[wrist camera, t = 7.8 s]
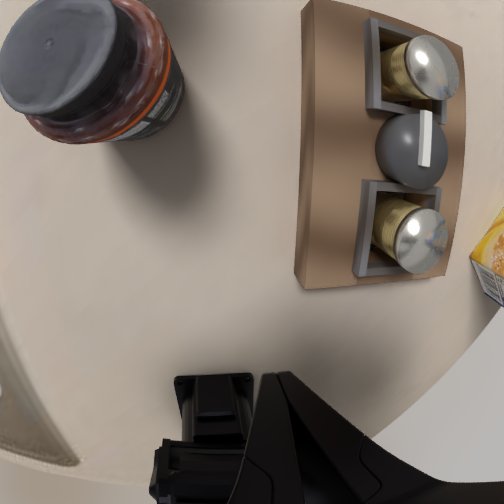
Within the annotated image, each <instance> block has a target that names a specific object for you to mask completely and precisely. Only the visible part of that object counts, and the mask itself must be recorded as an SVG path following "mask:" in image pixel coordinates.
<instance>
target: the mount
mask: <svg viewBox="0 0 504 504" xmlns="http://www.w3.org/2000/svg"><path fill="white" fill-rule="evenodd" d="M422 35H430V36H433V37H435V38H437V39H439V40H440V41H441V42H443V43H444V44H445V45H446V46H447V47H448V49H449V50H450V51H451V53H452V55H453V56H454V58H455V60H456V63H457V66H458V70H459V86H458V89H457V91H456V93H455V94H454V95H453V96H452V97H451V98H449V99H445V100H433V99H420V100H411V107H407V106H403V105H398V104H394V103H389V102H385V101H381V63H380V47H381V48H384V49H390V48H393V47H396V46H398V45H401V44H404V43H407V42H409V41H410V40H411V39H413V38H416V37H419V36H422ZM301 38H302V103H301V148H300V176H299V198H298V217H297V235H296V250H295V265H294V274H295V275H296V277H297V278H298V280H299V281H300V283H301V285H302V286H303V288H304V289H315V288H328V287H340V286H352V285H363V284H373V283H383V282H393V281H403V280H412V279H421V278H429V277H438V276H445V273H446V269H447V265H448V261H449V257H450V252H451V247H452V243H453V238H454V232H455V227H456V221H457V215H458V209H459V202H460V195H461V187H462V177H463V167H464V154H465V134H466V92H465V73H464V60H463V50H462V47H461V46H459V45H457V44H455V43H453V42H451V41H449V40H447V39H445V38H442V37H440V36H438V35H436V34H434V33H431V32H429V31H427V30H424V29H422V28H419V27H417V26H414V25H412V24H409V23H407V22H404V21H401V20H398V19H396V18H393V17H390V16H387V15H384V14H381V13H378V12H374V11H371V10H368V9H364V8H360V7H357V6H353V5H349V4H345V3H341V2H337V1H332V0H310V1H309V2H308V3H307V5H306V6H305V7H304V8H303V9H302V10H301ZM420 110H426V111H430V112H432V119H434V120H435V121H436V122H437V123H438V124H439V126H440V127H441V129H442V130H443V132H444V134H445V137H446V140H447V145H448V162H447V166H446V169H445V172H444V174H443V176H442V177H441V179H440V180H439V181H438V182H437V183H436V184H435V185H434V186H432V187H430V188H427V189H415V188H412V187H409V186H406V185H403V184H400V183H397V182H394V181H392V180H391V179H389V178H388V177H387V176H386V175H385V174H384V172H383V171H382V169H381V167H380V165H379V163H378V160H377V155H376V139H377V135H378V132H379V130H380V128H381V126H382V125H383V123H384V122H385V121H386V120H387V119H389V118H390V117H392V116H395V115H401V114H420ZM377 191H391V192H405V193H406V194H405V201H408V202H410V203H413V204H415V205H418V206H420V207H426V208H430V209H432V210H434V211H437V212H438V213H440V214H441V215H442V216H443V218H444V219H445V221H446V224H447V229H448V239H447V244H446V248H445V251H444V253H443V255H442V257H441V258H440V260H439V261H438V262H437V263H436V265H435V266H433V267H432V268H431V269H430V270H428V271H426V272H424V273H420V274H414V273H411V272H409V271H407V270H406V269H404V268H403V267H402V266H401V265H399V263H398V262H397V261H396V260H395V259H394V258H392V257H391V256H389V255H388V254H387V253H385V252H384V251H383V250H381V249H380V248H370V244H371V236H372V229H373V221H374V212H375V203H376V193H377Z"/></svg>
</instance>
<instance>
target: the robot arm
mask: <svg viewBox="0 0 504 504" xmlns="http://www.w3.org/2000/svg"><path fill="white" fill-rule="evenodd" d="M246 378H249V379H246ZM179 381H180V382H179ZM253 381H254V380H253V375H252V374H251V373H238V374H223V375H202V376H177V377H175V378H174V387H175V392H176V396H177V401H178V405H179V409H180V413H181V418H182V441H174V440H170V439H164V438H163V442H162V447H159V449H157V450H155V457H154V468H153V473H152V477H151V481H150V486H149V494H150V495H151V496H152V497H153V498H154V499H155V500H156V501H157V504H504V481H500V482H477V483H455V482H453V483H452V482H445V481H441V480H438V479H435V478H433V477H431V476H429V475H427V474H425V473H424V472H422V471H419V470H418V469H416V468H414V467H413V466H411V465H409V464H407V463H405V462H404V461H402V460H400V459H398V458H397V457H395V456H394V455H392V454H391V453H389V452H387V451H386V450H385V449H383V448H382V447H381V446H379V445H378V444H376V443H375V442H374V441H372V440H371V439H370V438H369V437H367V436H366V435H365V436H364V433H362V432H361V431H360V430H359V429H357V428H356V427H355V426H354V425H352V424H351V423H350V422H349V421H348V420H346V419H345V418H344V417H343V416H341V415H340V414H339V413H338V412H337V411H335V410H334V409H333V408H332V407H331V406H330V405H328V404H327V403H326V402H325V401H324V400H322V399H321V398H320V397H319V396H318V395H317V394H315V393H314V392H313V391H312V390H311V389H310V388H309V387H307V386H306V385H305V384H304V383H303V382H302V381H301V380H299V379H298V378H297V377H296V376H295V375H294V374H293V373H292V372H290V371H281V372H277V373H274V372H272V373H263V374H262V377H261V381H260V386H259V390H258V395H257V399H256V404H255V408H254V413H253Z"/></svg>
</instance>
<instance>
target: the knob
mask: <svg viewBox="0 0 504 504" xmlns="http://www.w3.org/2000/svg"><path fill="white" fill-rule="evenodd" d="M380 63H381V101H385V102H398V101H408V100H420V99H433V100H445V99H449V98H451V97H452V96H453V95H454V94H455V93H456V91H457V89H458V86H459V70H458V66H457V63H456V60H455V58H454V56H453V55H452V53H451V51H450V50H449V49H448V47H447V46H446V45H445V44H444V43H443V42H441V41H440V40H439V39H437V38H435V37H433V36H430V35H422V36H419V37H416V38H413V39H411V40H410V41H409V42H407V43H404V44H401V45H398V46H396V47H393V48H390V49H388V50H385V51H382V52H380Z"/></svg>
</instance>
